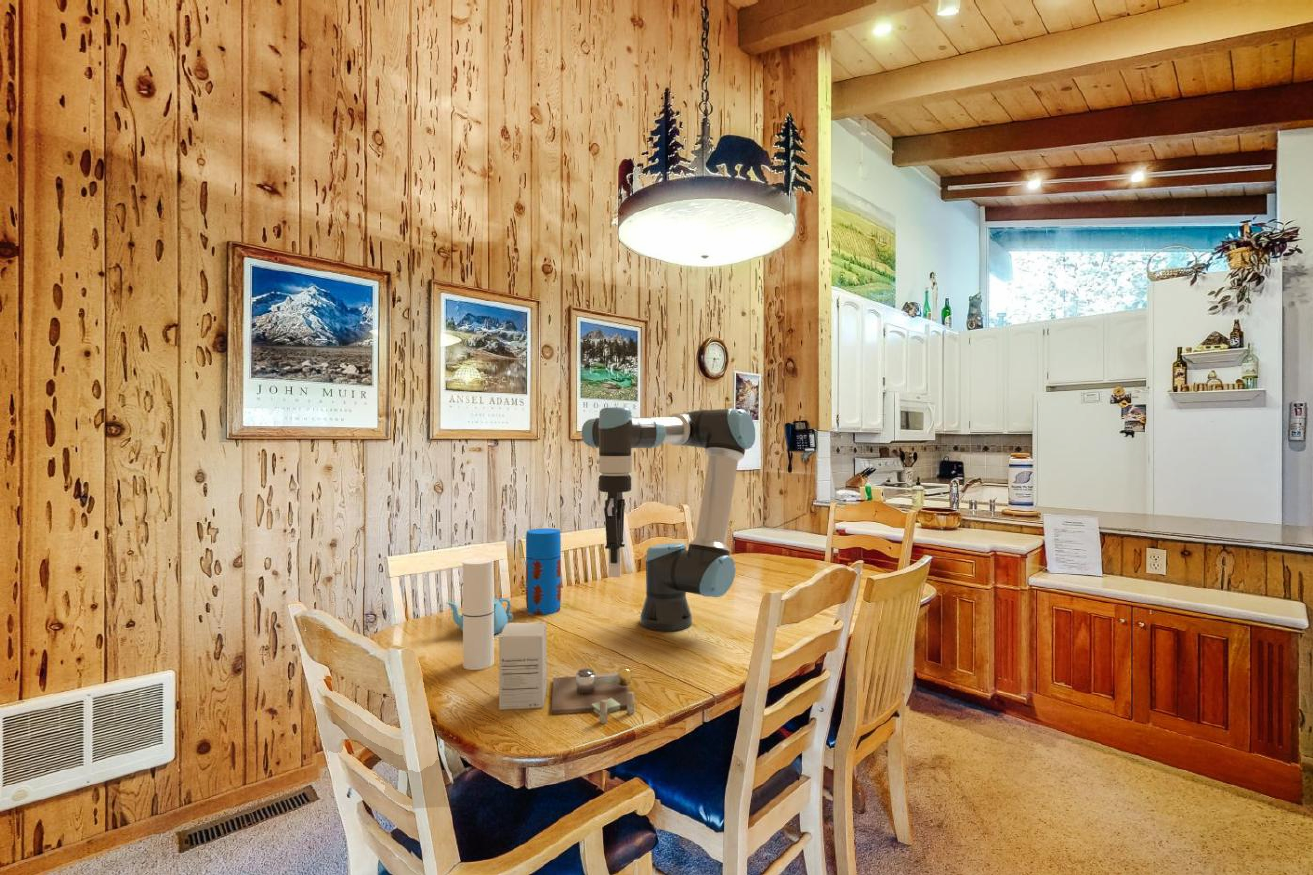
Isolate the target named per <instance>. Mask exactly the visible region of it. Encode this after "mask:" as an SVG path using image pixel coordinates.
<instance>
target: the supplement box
mask: <svg viewBox="0 0 1313 875" xmlns="http://www.w3.org/2000/svg"><path fill="white" fill-rule="evenodd" d="M547 668H548V667H547V622H546V621H542V622H541V621H540V622H508V623H506V624H505V626H504V628H503V630H502V631H501V632H500V634H499V637H498V686H499V687H498V693H499V694H498V696H499V697H498V698H499V702H498V704H499V705H498V708H499V710H503V711H504V710H523V709H524V710H525V709H526V710H527V709H543V707H544V704H545V698H546V694H547V691H548V689H547V687H548V685H547V682H548V681H547V680H548V679H547V673H548V672H547Z"/></svg>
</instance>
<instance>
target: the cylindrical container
mask: <svg viewBox="0 0 1313 875" xmlns="http://www.w3.org/2000/svg"><path fill="white" fill-rule="evenodd" d="M494 561H495V560H494V559H493V558H489V557H475V558H469V559H465V560H463V561H462V614H463V631H462V667H463V668H464V669H465V670H468V671H480V670H485V669H488V668H490V667H492V666H494V664H495V634H494V598H495V597H494V596H495V591H494V590H495V589H494V588H495V586H494V585H495V582H494V581H495V575H494V574H495V570H494V569H495V568H494V567H495V564H494Z"/></svg>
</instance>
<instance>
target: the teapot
mask: <svg viewBox="0 0 1313 875" xmlns="http://www.w3.org/2000/svg"><path fill="white" fill-rule="evenodd" d="M503 602H506V603H507V608H506V610H505V608H504V606H503V605H502V603H503ZM445 604H448V605H449V606H450V608H451V610H452V619H453V621H454V623H455V624H456V626H459V629H460V630H461V631H462V632H463V613H462V614H460V613H459V610H458V605H457V604H456V603H455V602H451V601H450V602H449V601H447V602H445ZM511 606H512V604H511V600H509V599H508V598H506V597H502V598H500V599H498V598H497V597H494V635H497V634H499V633H501V632H502V630H503V628H504V626H505V624H506V623H510V622H511V621H513V619H514V616H513V614H512V613H510V612H511Z"/></svg>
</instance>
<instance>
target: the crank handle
mask: <svg viewBox="0 0 1313 875" xmlns="http://www.w3.org/2000/svg"><path fill="white" fill-rule="evenodd" d="M631 670H632V669H631V667H630V666H620V667H619V668H618V672H606V673H602V672H601V673H596V672H595V671H594V669H591V668H582V669H579V671H577V673H576V676H575V677H576V690H577V691H578V692H580V693H590V692H593V691H594V690H595V684H610V683H619V685H621V686H627V687H628V686H630V685H631V683H632V682H631V679H632V677H631V672H632V671H631Z"/></svg>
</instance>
